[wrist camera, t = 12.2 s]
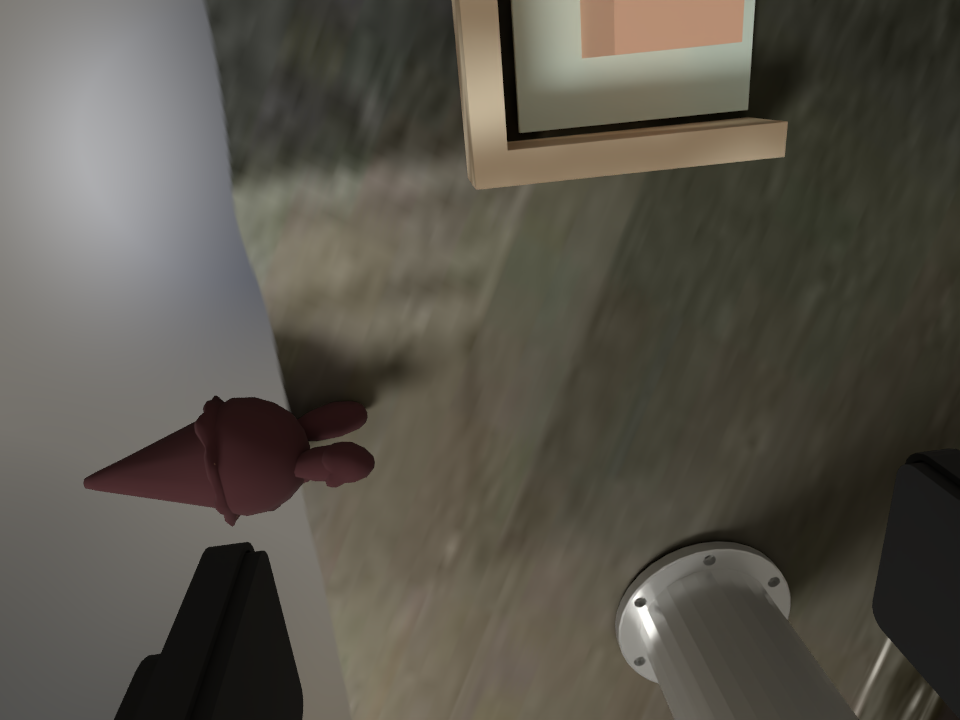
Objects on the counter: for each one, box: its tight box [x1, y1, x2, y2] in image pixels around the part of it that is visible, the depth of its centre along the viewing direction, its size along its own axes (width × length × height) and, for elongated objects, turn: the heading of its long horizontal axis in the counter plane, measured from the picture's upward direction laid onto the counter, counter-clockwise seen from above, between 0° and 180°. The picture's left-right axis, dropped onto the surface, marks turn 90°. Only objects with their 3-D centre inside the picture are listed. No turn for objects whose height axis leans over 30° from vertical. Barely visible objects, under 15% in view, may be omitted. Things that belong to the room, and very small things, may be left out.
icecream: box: [84, 396, 375, 526], centre depth 36 cm, size 7×7×15 cm
